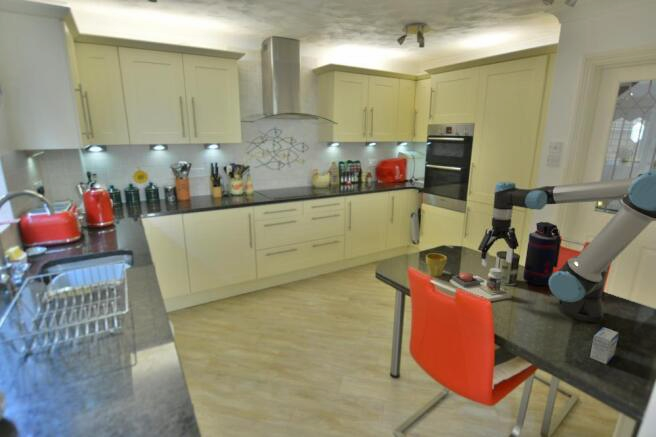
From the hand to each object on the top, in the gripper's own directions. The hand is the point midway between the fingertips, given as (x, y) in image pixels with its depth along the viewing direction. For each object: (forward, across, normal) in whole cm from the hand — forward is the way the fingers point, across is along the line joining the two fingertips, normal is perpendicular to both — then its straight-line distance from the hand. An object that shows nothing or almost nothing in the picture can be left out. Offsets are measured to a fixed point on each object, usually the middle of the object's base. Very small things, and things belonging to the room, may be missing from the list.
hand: (496, 263), depth 152 cm
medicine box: (+16, 0, +47) cm, 50 cm away
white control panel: (+14, +3, -6) cm, 16 cm away
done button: (+11, +6, -12) cm, 17 cm away
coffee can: (+15, -16, -10) cm, 24 cm away
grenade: (+15, -31, -4) cm, 34 cm away
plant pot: (+14, +12, -28) cm, 33 cm away
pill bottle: (+13, 0, 0) cm, 13 cm away
